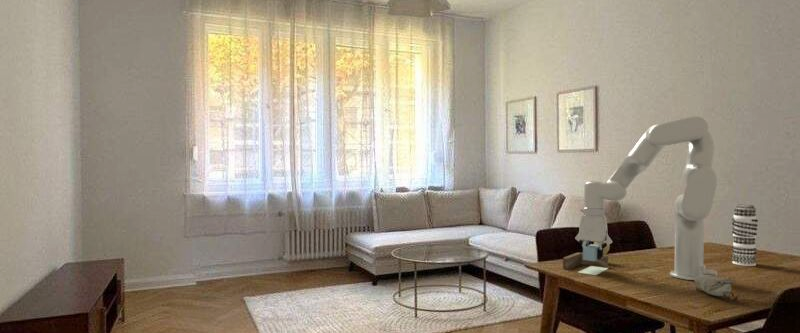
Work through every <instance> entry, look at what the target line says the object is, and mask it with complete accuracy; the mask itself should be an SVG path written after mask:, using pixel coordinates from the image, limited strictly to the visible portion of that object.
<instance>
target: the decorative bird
mask: <svg viewBox="0 0 800 333" xmlns="http://www.w3.org/2000/svg"><path fill="white" fill-rule="evenodd" d="M736 282H737V281H736V280H735V279H730V278H723V277H719V276H718V277H717V276H712V275H708V276H707V275H703V274H702V275H699V276H697V277H696V278H695V280H694V282H693V283H694V288H695V290H696V291H699V290H701V289H702V290H703V292H705V293H707V295H710V296H713V297H725V298H726V299H724V302H726V303H728V302H729V303H730V299H731V298H730V294H731V295H732V297H733V299H732V300H731V302H733V301H734V302H733V303H736V302H737V303H739V302H738V295H736V296H734V293H733V292H732V284H733V283H734V284H735V283H736ZM724 302H723V303H724Z"/></svg>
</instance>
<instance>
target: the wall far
mask: <svg viewBox="0 0 800 333" xmlns="http://www.w3.org/2000/svg"><path fill="white" fill-rule="evenodd" d="M579 265H582V264H581V253H579V251H578V252H575V253H572V254H569V255H566V256H564V257H562V269H563V270H570V269H573V268H575V267H577V266H579Z"/></svg>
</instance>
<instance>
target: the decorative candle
mask: <svg viewBox="0 0 800 333" xmlns="http://www.w3.org/2000/svg"><path fill="white" fill-rule="evenodd" d="M733 210H734V212H733V218H732V219H731V221H732V222H731V224H732V227H731V229H732V236H733V244H732V250H731V251H732V254H731V256H732V257H731V259H732V261H731V263H732V264H734V265H738V266H744V267H755V266H756V265H757V263H756V262H757V256H756V254H757V252H756V251H757V247H756V238H757V237H758V236H757V235H758V233H757V232H756V231H757V230H758V228H757V227H758V224H757V223H758V222H759V220H758V219H757V214H756V213H757V212H756V210H757V208H756V207H755V206H754V205H752V204H746V203H745V204H743V203H742V204H741V203H740V204H736V205H735V207H733Z"/></svg>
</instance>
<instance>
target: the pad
mask: <svg viewBox="0 0 800 333" xmlns="http://www.w3.org/2000/svg"><path fill="white" fill-rule="evenodd" d="M608 270H609V267H599V266H592V265H589V266H588V267H586V268H584V269H581V270H580V271H577V273H579V274H582V275H584V274H585V275H590V276H591V275H592V276H597V275H599V274H602V273H603V272H605V271H608Z"/></svg>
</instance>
